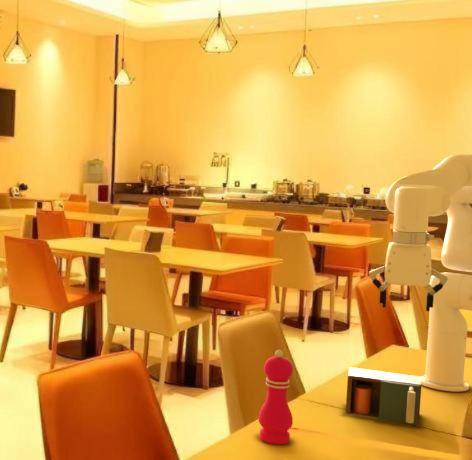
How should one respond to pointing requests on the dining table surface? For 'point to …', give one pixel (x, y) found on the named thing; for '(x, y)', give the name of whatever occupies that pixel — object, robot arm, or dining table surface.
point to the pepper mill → (276, 401)
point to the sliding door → (399, 402)
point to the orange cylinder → (362, 399)
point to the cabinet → (375, 386)
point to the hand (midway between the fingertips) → (405, 308)
